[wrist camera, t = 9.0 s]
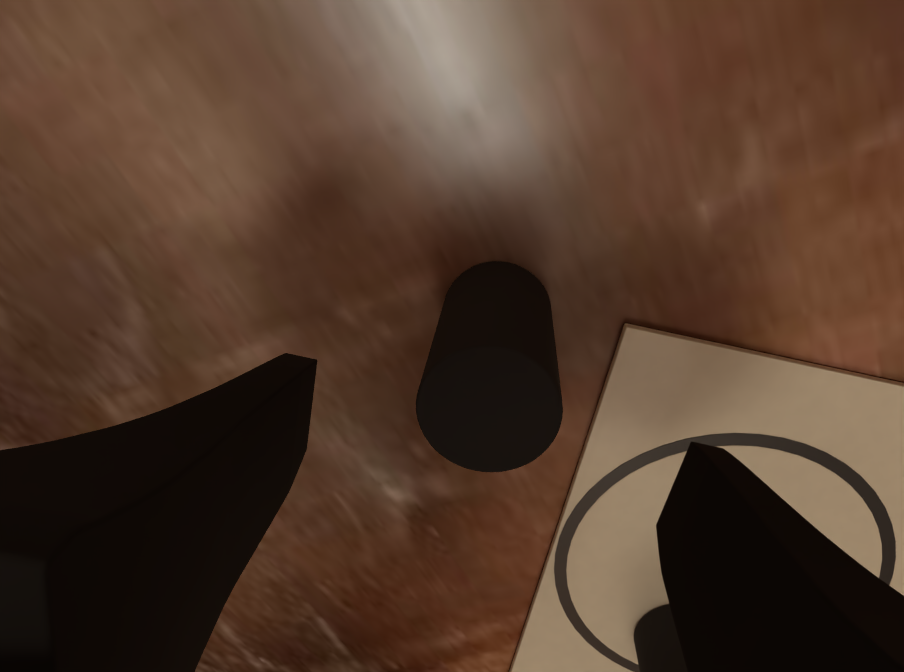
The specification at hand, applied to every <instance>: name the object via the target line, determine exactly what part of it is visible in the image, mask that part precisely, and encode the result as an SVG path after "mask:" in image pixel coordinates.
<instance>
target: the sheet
mask: <svg viewBox="0 0 904 672" xmlns="http://www.w3.org/2000/svg"><path fill="white" fill-rule="evenodd" d="M691 441H692V442H697V443H701V444H706V445H710V446H715V447H720V448H723V449H725V450H726V451H728V452H729V453H730V454H732V455H733V456H734V457H736V458H737V459H738V460H739V461H740V462H742V463H743V464H744V465H745V466H746V467H747V468H749V469H750V470H751V471H752V472H753V473H754V474H755V475H757V476H758V477H759V478H760V479H761V480H762V481H763V482H764V483H765V484H767V485H768V486H769V487H770V488H771V489H772V490H773V491H774V492H775V493H777V494H778V495H779V496H780V497H781V498H782V499H783V500H784V501H786V502H787V503H788V504H789V505H790V506H791V507H792V508H793V509H795V510H796V511H797V512H798V513H799V514H800V515H801V516H802V517H804V518H805V519H806V520H807V521H808V522H809V523H811V524H812V525H813V526H814V527H815V528H816V529H818V530H819V531H820V532H821V533H822V534H824V535H825V536H826V537H827V538H828V539H830V540H831V541H832V542H833V543H835V544H836V545H837V546H838V547H839V548H841V549H842V550H843V551H844V552H846V553H847V554H848V555H849V556H851V557H852V558H853V559H854V560H856V561H857V562H858V563H859V564H861V565H862V566H863V567H865V568H866V569H867V570H869V571H870V572H871V573H873V574H874V575H875V576H877V577H878V578H879V579H881V580H882V581H884V582H885V583H886V584H888V585H889V586H891V587H892V588H894V589H895V590H896V591H898V592H899V593H901V594H902V595H903V596H904V383H901V382H897V381H892V380H887V379H883V378H878V377H873V376H869V375H864V374H860V373H855V372H850V371H846V370H841V369H836V368H832V367H827V366H822V365H818V364H813V363H808V362H804V361H799V360H794V359H790V358H785V357H781V356H776V355H771V354H767V353H762V352H757V351H753V350H748V349H743V348H739V347H734V346H729V345H725V344H720V343H715V342H711V341H706V340H702V339H697V338H692V337H688V336H683V335H678V334H674V333H669V332H664V331H660V330H655V329H650V328H646V327H641V326H636V325H632V324H627V323H625V324H624V327H623V330H622V333H621V336H620V339H619V342H618V345H617V348H616V351H615V354H614V357H613V360H612V363H611V366H610V369H609V372H608V375H607V378H606V381H605V384H604V387H603V390H602V393H601V396H600V399H599V402H598V405H597V408H596V411H595V414H594V417H593V420H592V423H591V426H590V429H589V432H588V435H587V438H586V441H585V444H584V447H583V450H582V453H581V456H580V459H579V462H578V465H577V468H576V471H575V474H574V477H573V480H572V483H571V486H570V489H569V492H568V496H567V499H566V502H565V505H564V508H563V511H562V514H561V517H560V520H559V523H558V526H557V529H556V532H555V535H554V538H553V541H552V544H551V547H550V550H549V553H548V556H547V559H546V562H545V565H544V568H543V571H542V574H541V577H540V580H539V583H538V586H537V589H536V592H535V595H534V598H533V601H532V604H531V607H530V610H529V613H528V616H527V619H526V622H525V625H524V628H523V631H522V634H521V637H520V640H519V643H518V646H517V649H516V652H515V655H514V658H513V661H512V664H511V667H510V670H509V672H640V670H639V665H638V660H637V654H636V649H635V644H634V631H635V628H636V625H637V624H638V622H639V621H640V619H641V618H642V617H643V616H644V615H645V614H647V613H648V612H650V611H651V610H653V609H655V608H657V607H660V606H663V605H667V604H669V601H668V597H667V593H666V589H665V586H664V581H663V577H662V573H661V566H660V559H659V551H658V541H657V531H656V524H657V521H658V519H659V517H660V514H661V512H662V510H663V507H664V505H665V502H666V500H667V498H668V495H669V493H670V490H671V488H672V486H673V483H674V481H675V478H676V476H677V474H678V471H679V469H680V466H681V464H682V462H683V459H684V457H685V454H686V452H687V450H688V447H689V445H690V443H691Z"/></svg>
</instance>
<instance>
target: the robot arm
mask: <svg viewBox="0 0 904 672" xmlns="http://www.w3.org/2000/svg"><path fill="white" fill-rule="evenodd" d="M316 367H317V360H316V359H311V358H307V357H302V356H297V355H293V354H288V353H285V354H283V355H280V356H278V357H276V358H274V359H272V360H270V361H268V362H266V363H264V364H262V365H260V366H258V367H256V368H254V369H252V370H250V371H248V372H246V373H244V374H242V375H240V376H238V377H236V378H234V379H232V380H230V381H228V382H226V383H224V384H222V385H220V386H218V387H216V388H214V389H211V390H209V391H207V392H204V393H202V394H200V395H197V396H195V397H193V398H190V399H188V400H186V401H183V402H181V403H179V404H176V405H174V406H172V407H169V408H166V409H164V410H161V411H158V412H155V413H153V414H150V415H147V416H144V417H141V418H138V419H135V420H132V421H128V422H125V423H122V424H119V425H116V426H112V427H109V428H105V429H101V430H96V431H92V432H88V433H84V434H80V435H76V436H72V437H68V438H63V439H59V440H55V441H50V442H46V443H40V444H35V445H29V446H24V447H18V448H12V449H6V450H0V672H195V669H196V667H197V665H198V662H199V660H200V658H201V655H202V653H203V651H204V649H205V647H206V644H207V642H208V640H209V638H210V635H211V633H212V631H213V629H214V627H215V624H216V622H217V620H218V618H219V615H220V613H221V611H222V609H223V607H224V605H225V603H226V601H227V599H228V597H229V595H230V593H231V591H232V590H233V588H234V586H235V584H236V582H237V581H238V579H239V577H240V575H241V574H242V572H243V570H244V569H245V567H246V565H247V563H248V562H249V560H250V558H251V557H252V555H253V553H254V551H255V550H256V548H257V546H258V545H259V543H260V541H261V540H262V538H263V536H264V534H265V533H266V531H267V529H268V528H269V526H270V524H271V522H272V521H273V519H274V517H275V515H276V514H277V512H278V510H279V509H280V507H281V505H282V503H283V502H284V500H285V498H286V496H287V494H288V493H289V491H290V488H291V486H292V484H293V481H294V479H295V477H296V474H297V472H298V469H299V467H300V464H301V462H302V459H303V457H304V454H305V452H306V449H307V443H308V434H309V426H310V417H311V409H312V401H313V392H314V384H315V375H316ZM656 531H657V541H658V551H659V559H660V566H661V573H662V577H663V581H664V586H665V589H666V593H667V597H668V601H669V605H670V608H671V612H672V616H673V620H674V623H675V627H676V631H677V634H678V638H679V642H680V645H681V649H682V652H683V656H684V660H685V663H686V667H687V671H688V672H904V596H903V595H902V594H901V593H899V592H898V591H896V590H895V589H894V588H892V587H891V586H889V585H888V584H886V583H885V582H884V581H882V580H881V579H879V578H878V577H877V576H875V575H874V574H873V573H871V572H870V571H869V570H867V569H866V568H865V567H863V566H862V565H861V564H859V563H858V562H857V561H856V560H854V559H853V558H852V557H851V556H849V555H848V554H847V553H846V552H844V551H843V550H842V549H841V548H839V547H838V546H837V545H836V544H835V543H833V542H832V541H831V540H830V539H828V538H827V537H826V536H825V535H824V534H822V533H821V532H820V531H819V530H818V529H816V528H815V527H814V526H813V525H812V524H811V523H809V522H808V521H807V520H806V519H805V518H804V517H802V516H801V515H800V514H799V513H798V512H797V511H796V510H795V509H793V508H792V507H791V506H790V505H789V504H788V503H787V502H786V501H784V500H783V499H782V498H781V497H780V496H779V495H778V494H777V493H775V492H774V491H773V490H772V489H771V488H770V487H769V486H768V485H767V484H765V483H764V482H763V481H762V480H761V479H760V478H759V477H758V476H757V475H755V474H754V473H753V472H752V471H751V470H750V469H749V468H747V467H746V466H745V465H744V464H743V463H742V462H740V461H739V460H738V459H737V458H736V457H734V456H733V455H732V454H730V453H729V452H728V451H726V450H725V449H723V448H720V447H715V446H710V445H706V444H701V443H697V442H692V441H691V443H690V445H689V447H688V450H687V452H686V454H685V457H684V459H683V462H682V464H681V466H680V469H679V471H678V474H677V476H676V478H675V481H674V483H673V486H672V488H671V490H670V493H669V495H668V498H667V500H666V502H665V505H664V507H663V510H662V512H661V514H660V517H659V519H658V521H657V524H656Z"/></svg>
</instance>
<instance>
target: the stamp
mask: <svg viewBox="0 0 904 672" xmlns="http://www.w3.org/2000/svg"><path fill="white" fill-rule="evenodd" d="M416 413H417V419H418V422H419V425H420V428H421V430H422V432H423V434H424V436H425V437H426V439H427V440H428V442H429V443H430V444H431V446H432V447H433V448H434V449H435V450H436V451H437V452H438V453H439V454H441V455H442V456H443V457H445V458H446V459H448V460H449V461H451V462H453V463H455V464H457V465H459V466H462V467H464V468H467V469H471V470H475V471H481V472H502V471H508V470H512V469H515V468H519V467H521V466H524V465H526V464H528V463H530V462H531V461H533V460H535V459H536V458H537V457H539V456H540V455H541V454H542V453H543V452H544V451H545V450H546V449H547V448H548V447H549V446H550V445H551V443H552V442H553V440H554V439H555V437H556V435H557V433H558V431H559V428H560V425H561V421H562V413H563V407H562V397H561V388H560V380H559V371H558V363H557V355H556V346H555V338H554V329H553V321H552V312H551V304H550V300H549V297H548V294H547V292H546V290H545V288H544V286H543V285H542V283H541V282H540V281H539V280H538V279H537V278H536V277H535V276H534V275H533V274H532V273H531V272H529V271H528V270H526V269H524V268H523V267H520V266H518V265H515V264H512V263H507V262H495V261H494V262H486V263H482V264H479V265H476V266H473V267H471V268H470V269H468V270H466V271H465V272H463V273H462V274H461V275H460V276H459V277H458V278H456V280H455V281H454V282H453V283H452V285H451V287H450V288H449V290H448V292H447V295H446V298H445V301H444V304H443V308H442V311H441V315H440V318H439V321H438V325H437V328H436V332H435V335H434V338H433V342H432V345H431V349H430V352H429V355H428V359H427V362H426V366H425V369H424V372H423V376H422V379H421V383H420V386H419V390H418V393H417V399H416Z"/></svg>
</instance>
